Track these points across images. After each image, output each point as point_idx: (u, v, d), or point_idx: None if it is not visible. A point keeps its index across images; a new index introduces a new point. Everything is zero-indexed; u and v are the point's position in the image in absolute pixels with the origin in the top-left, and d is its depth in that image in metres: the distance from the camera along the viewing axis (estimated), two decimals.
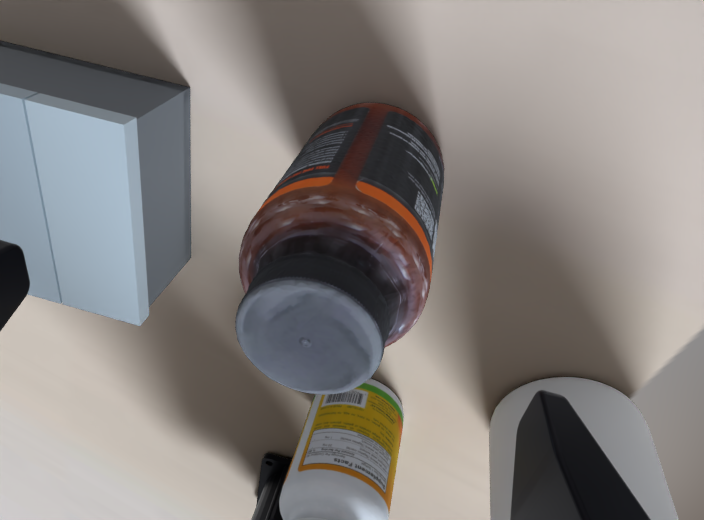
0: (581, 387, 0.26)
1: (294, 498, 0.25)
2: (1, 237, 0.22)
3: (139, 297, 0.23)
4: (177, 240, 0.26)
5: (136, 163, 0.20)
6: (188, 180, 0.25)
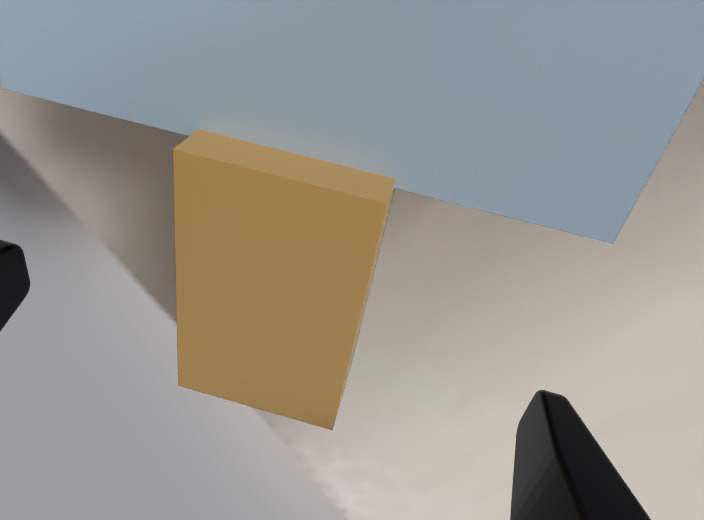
0: None
1: None
2: None
3: None
4: None
5: None
6: None
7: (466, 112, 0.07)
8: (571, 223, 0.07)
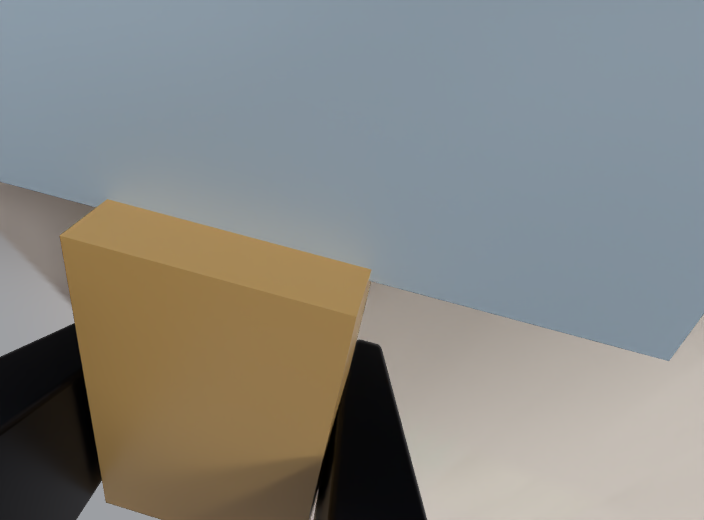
0: None
1: None
2: None
3: None
4: None
5: None
6: None
7: (468, 189, 0.05)
8: (612, 333, 0.05)
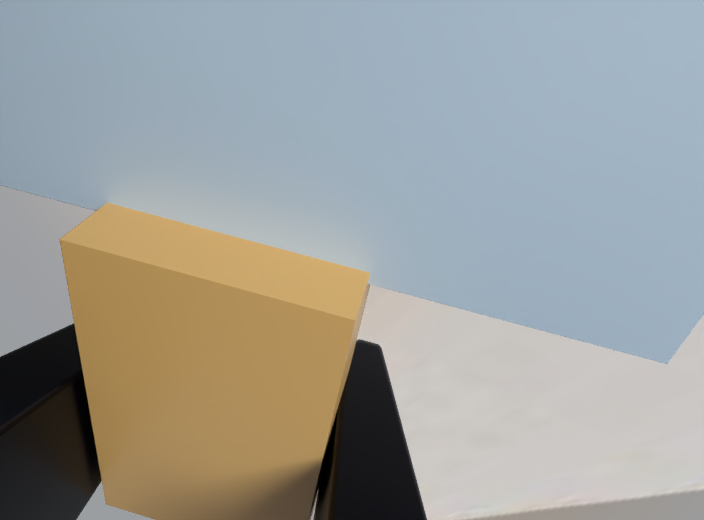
0: None
1: None
2: None
3: None
4: None
5: None
6: None
7: (466, 193, 0.05)
8: (610, 336, 0.05)
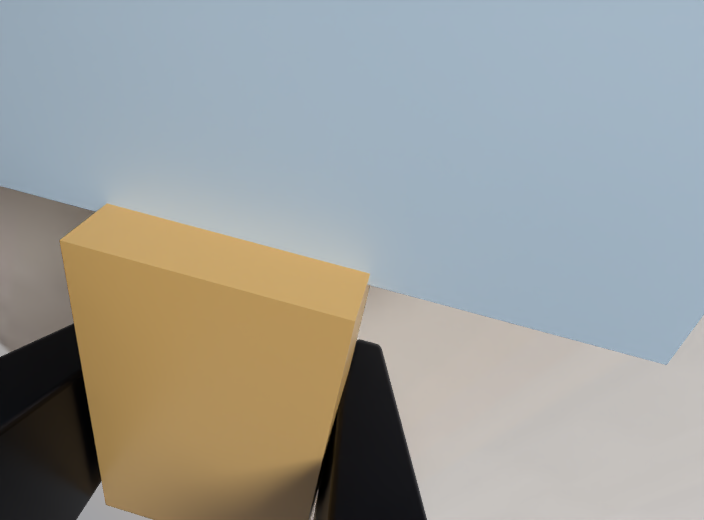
0: None
1: None
2: None
3: None
4: None
5: None
6: None
7: (466, 194, 0.05)
8: (609, 337, 0.05)
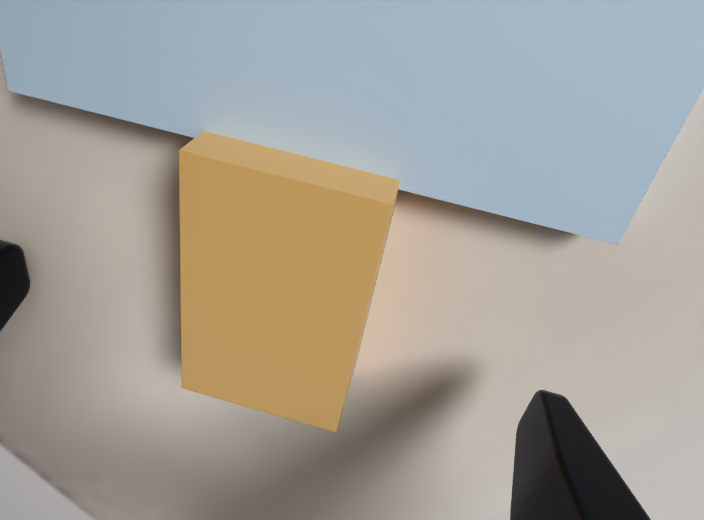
0: None
1: None
2: None
3: None
4: None
5: None
6: None
7: (471, 113, 0.07)
8: (575, 224, 0.08)
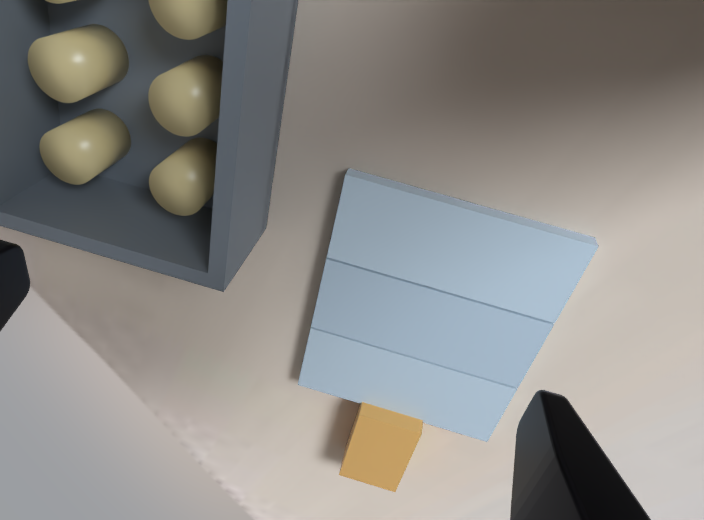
0: None
1: None
2: (464, 344, 0.22)
3: (555, 232, 0.19)
4: None
5: (392, 181, 0.20)
6: None
7: (444, 408, 0.25)
8: (475, 435, 0.25)
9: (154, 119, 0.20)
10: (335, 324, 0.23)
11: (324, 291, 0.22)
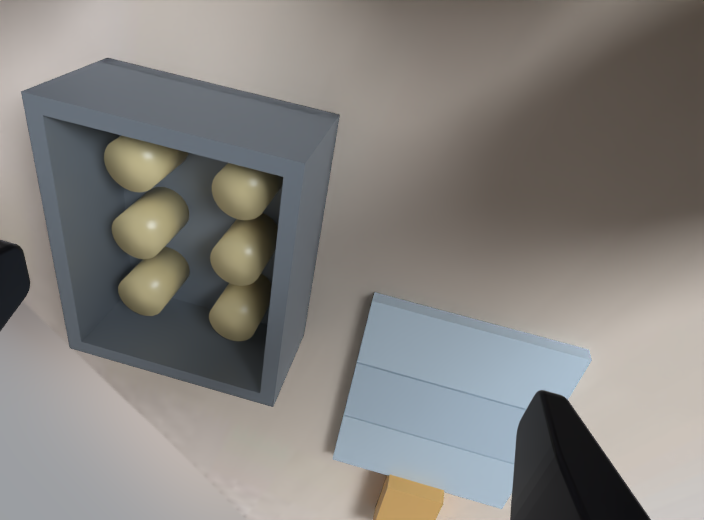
0: None
1: None
2: (478, 432, 0.26)
3: (553, 347, 0.22)
4: (276, 114, 0.18)
5: (412, 303, 0.23)
6: (215, 86, 0.19)
7: (462, 481, 0.28)
8: (490, 503, 0.28)
9: (209, 255, 0.23)
10: (365, 413, 0.27)
11: (355, 387, 0.26)
